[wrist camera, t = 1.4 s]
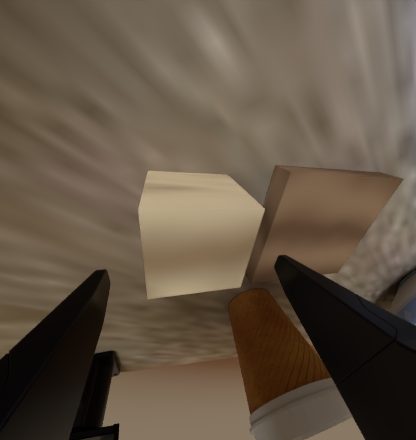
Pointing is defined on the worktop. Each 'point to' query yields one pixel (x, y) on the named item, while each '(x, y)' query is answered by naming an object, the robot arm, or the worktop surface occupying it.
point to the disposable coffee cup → (281, 373)
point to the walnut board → (316, 217)
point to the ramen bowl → (406, 299)
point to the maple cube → (195, 232)
